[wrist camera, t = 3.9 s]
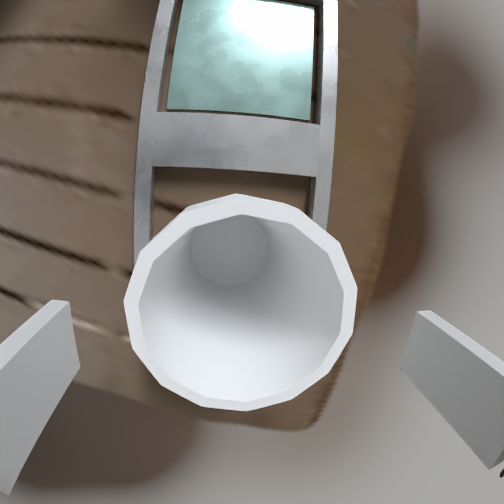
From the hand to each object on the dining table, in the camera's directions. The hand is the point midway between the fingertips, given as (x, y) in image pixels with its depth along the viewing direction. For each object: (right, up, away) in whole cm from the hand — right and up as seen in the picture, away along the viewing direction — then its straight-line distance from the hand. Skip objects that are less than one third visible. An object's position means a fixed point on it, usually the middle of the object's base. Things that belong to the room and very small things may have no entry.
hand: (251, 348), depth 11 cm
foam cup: (-2, +4, +14) cm, 15 cm away
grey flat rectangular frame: (-1, +11, +12) cm, 17 cm away
